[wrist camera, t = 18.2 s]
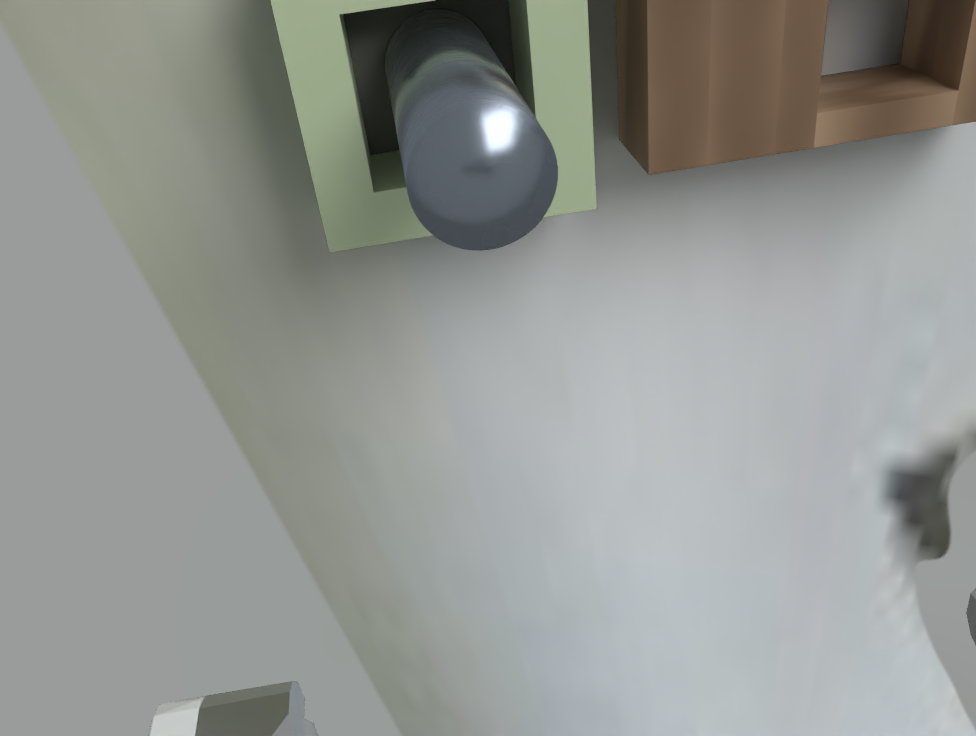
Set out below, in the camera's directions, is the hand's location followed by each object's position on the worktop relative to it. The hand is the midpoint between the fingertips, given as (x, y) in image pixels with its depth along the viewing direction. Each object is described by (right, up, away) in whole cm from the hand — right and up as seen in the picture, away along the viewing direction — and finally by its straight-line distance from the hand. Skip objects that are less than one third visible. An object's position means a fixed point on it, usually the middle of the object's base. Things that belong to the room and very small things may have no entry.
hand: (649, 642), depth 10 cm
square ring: (-4, +15, +23) cm, 27 cm away
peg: (-4, +15, +23) cm, 27 cm away
